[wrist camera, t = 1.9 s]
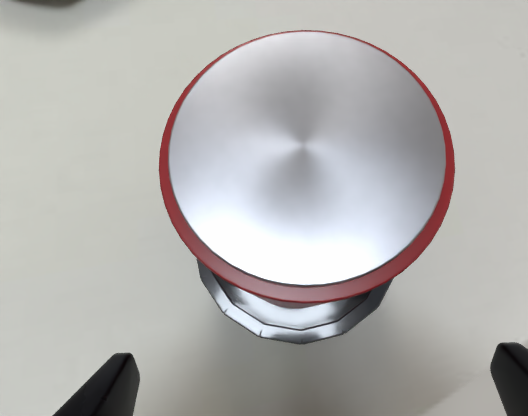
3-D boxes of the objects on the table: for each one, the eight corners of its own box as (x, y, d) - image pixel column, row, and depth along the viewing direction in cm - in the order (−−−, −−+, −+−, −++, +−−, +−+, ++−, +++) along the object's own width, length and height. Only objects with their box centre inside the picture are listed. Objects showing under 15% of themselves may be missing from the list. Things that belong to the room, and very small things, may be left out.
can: (367, 292, 20) (515, 257, 7) (250, 321, 20) (180, 340, 7) (333, 183, 21) (400, -9, 9) (226, 209, 21) (134, 57, 9)
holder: (398, 312, 20) (429, 313, 15) (232, 354, 20) (216, 366, 15) (348, 159, 22) (362, 122, 18) (200, 195, 22) (179, 167, 18)
